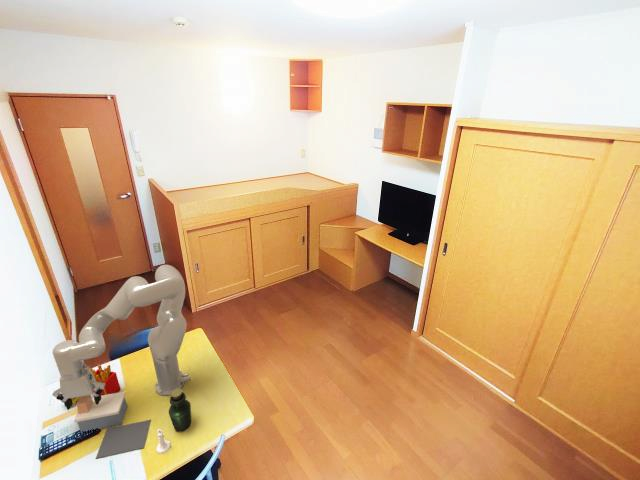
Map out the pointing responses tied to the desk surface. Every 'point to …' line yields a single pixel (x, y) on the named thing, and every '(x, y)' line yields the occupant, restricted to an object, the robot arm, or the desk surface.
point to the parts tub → (104, 420)
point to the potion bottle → (180, 411)
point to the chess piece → (162, 443)
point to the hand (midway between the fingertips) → (84, 404)
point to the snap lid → (99, 406)
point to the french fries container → (106, 380)
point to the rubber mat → (124, 439)
